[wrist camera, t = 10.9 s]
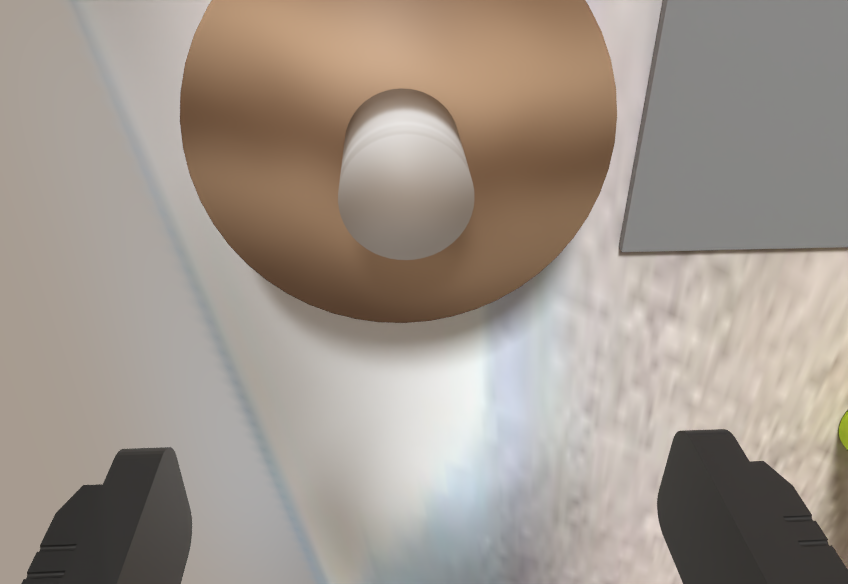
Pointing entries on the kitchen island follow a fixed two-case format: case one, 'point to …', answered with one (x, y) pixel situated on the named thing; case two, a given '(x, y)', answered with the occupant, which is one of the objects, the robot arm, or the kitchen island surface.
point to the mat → (743, 129)
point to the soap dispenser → (844, 430)
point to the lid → (398, 144)
